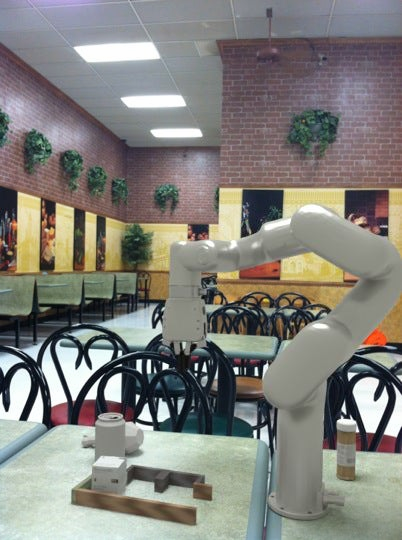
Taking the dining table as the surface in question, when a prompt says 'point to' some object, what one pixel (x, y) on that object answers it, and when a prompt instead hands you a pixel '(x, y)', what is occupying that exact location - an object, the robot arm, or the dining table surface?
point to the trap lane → (144, 506)
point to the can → (110, 435)
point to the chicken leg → (132, 438)
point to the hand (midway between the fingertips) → (183, 370)
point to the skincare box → (109, 475)
